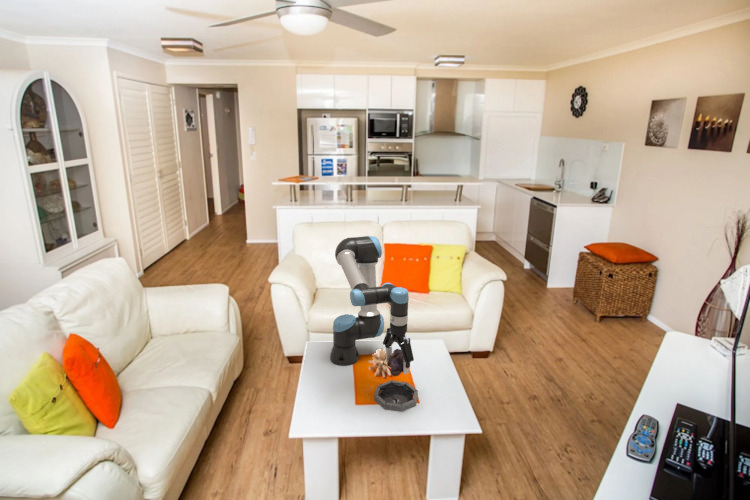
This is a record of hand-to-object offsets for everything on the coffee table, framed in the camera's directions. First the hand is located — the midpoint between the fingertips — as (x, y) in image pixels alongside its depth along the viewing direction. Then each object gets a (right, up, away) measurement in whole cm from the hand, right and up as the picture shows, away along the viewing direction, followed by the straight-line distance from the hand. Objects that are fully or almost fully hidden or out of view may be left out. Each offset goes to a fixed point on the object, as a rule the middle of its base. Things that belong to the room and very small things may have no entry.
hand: (397, 366), depth 198 cm
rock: (0, -2, 0) cm, 2 cm away
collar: (0, -15, +5) cm, 16 cm away
